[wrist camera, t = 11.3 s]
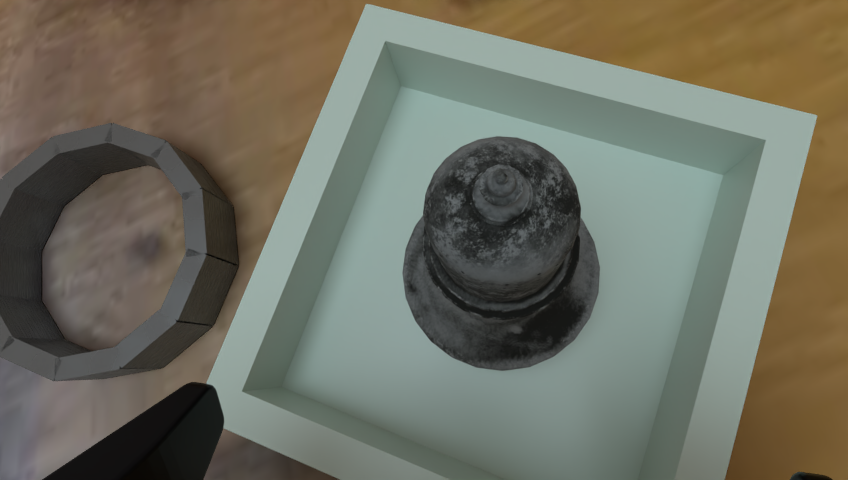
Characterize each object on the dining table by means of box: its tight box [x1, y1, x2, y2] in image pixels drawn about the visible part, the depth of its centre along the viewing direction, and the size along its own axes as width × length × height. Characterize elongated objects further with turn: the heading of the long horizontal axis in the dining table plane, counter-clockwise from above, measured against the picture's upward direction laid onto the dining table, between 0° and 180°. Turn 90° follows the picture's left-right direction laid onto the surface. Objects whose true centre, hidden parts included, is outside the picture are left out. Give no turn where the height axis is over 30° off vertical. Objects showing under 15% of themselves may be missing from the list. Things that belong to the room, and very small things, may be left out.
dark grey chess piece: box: [402, 136, 600, 371], centre depth 14 cm, size 6×6×12 cm
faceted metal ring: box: [0, 123, 239, 381], centre depth 22 cm, size 10×10×2 cm
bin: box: [206, 4, 817, 480], centre depth 19 cm, size 15×15×4 cm
